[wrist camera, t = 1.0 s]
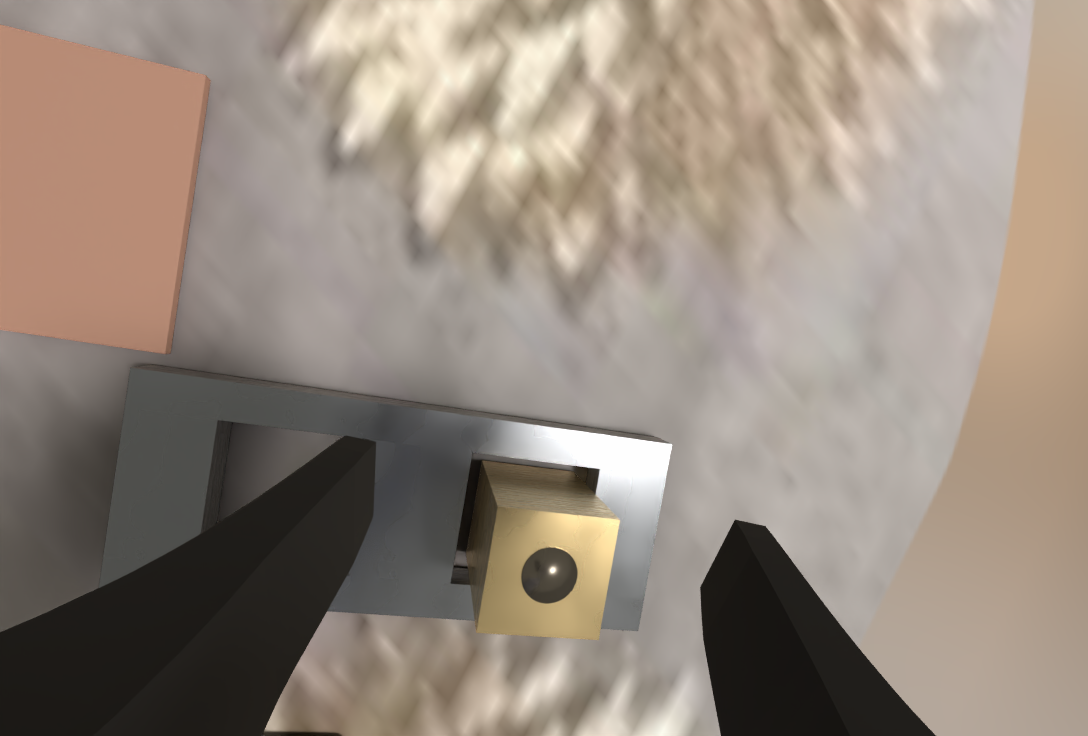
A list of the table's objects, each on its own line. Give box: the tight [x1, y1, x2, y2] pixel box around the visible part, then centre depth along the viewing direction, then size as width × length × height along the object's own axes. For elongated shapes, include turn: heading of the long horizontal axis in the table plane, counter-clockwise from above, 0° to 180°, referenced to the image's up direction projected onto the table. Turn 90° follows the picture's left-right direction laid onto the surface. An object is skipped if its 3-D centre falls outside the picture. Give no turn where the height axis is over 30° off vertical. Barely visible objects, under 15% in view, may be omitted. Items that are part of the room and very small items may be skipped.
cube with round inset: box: [466, 460, 620, 640], centre depth 20 cm, size 4×4×6 cm
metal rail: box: [99, 365, 672, 631], centre depth 21 cm, size 8×20×2 cm, turn 80°
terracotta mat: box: [0, 25, 211, 354], centre depth 18 cm, size 10×9×1 cm
